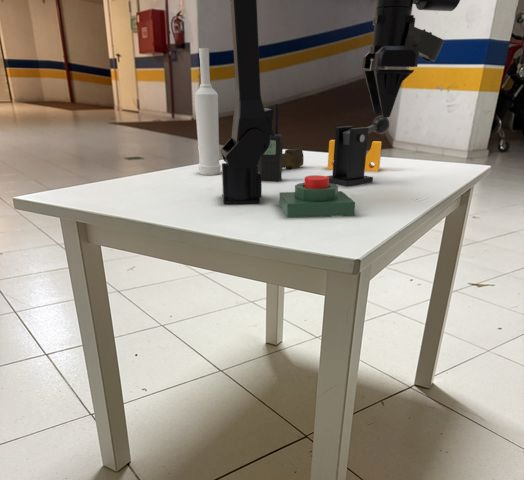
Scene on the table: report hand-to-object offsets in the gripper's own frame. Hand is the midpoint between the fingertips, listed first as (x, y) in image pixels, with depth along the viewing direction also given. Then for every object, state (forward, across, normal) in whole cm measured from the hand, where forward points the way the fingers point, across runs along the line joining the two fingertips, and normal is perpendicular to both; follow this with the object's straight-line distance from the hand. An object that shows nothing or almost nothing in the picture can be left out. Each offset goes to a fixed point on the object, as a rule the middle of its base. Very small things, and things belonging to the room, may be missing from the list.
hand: (381, 115), depth 88 cm
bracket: (+14, +13, +3) cm, 19 cm away
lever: (+6, +16, 0) cm, 17 cm away
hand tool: (+14, +27, +19) cm, 36 cm away
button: (+10, -13, +12) cm, 20 cm away
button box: (+14, -13, +12) cm, 22 cm away
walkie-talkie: (+14, +14, +20) cm, 28 cm away
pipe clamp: (+14, +30, 0) cm, 33 cm away
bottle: (+14, +23, +34) cm, 44 cm away
